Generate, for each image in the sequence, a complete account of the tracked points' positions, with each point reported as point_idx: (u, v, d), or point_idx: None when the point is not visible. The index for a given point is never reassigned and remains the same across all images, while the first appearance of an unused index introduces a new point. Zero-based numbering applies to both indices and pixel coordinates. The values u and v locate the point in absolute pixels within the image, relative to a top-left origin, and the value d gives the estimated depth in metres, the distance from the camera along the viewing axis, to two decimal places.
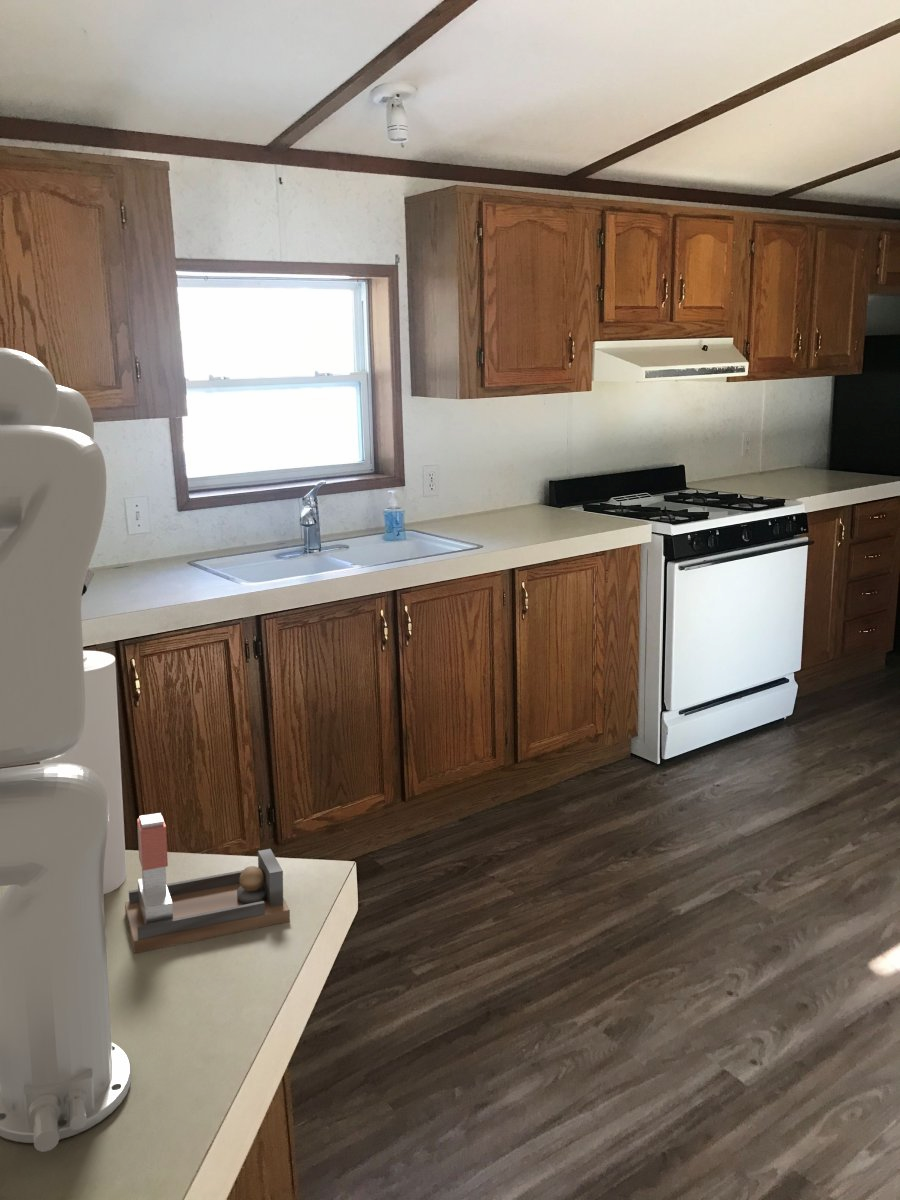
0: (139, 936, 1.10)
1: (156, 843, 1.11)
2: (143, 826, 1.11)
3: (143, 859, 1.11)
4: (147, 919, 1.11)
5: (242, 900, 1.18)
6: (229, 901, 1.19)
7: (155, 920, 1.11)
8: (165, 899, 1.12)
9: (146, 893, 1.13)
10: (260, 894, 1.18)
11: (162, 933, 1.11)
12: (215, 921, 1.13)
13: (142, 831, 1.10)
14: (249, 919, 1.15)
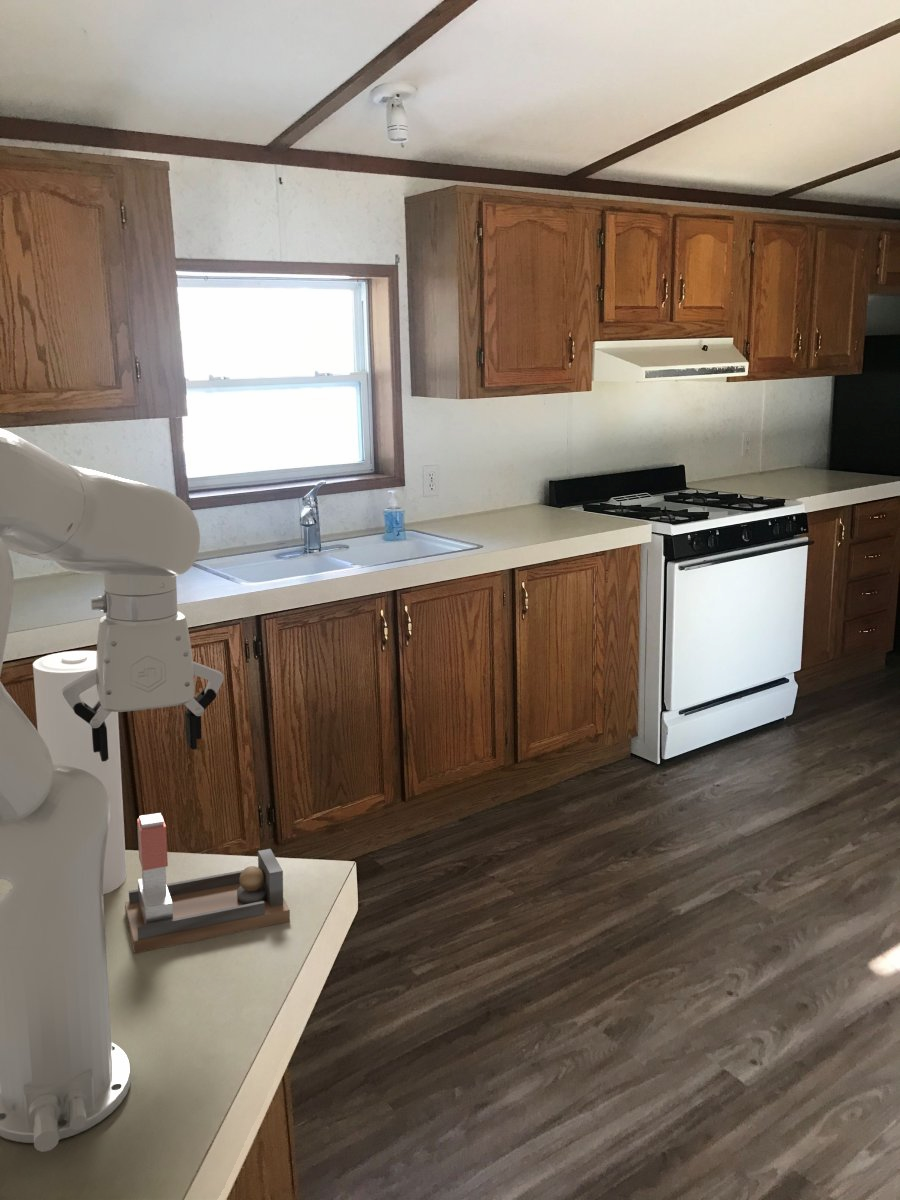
0: (139, 936, 1.10)
1: (156, 843, 1.11)
2: (143, 826, 1.11)
3: (143, 859, 1.11)
4: (147, 919, 1.11)
5: (242, 900, 1.18)
6: (229, 901, 1.19)
7: (155, 920, 1.11)
8: (165, 899, 1.12)
9: (146, 893, 1.13)
10: (260, 894, 1.18)
11: (162, 933, 1.11)
12: (215, 921, 1.13)
13: (142, 831, 1.10)
14: (249, 919, 1.15)
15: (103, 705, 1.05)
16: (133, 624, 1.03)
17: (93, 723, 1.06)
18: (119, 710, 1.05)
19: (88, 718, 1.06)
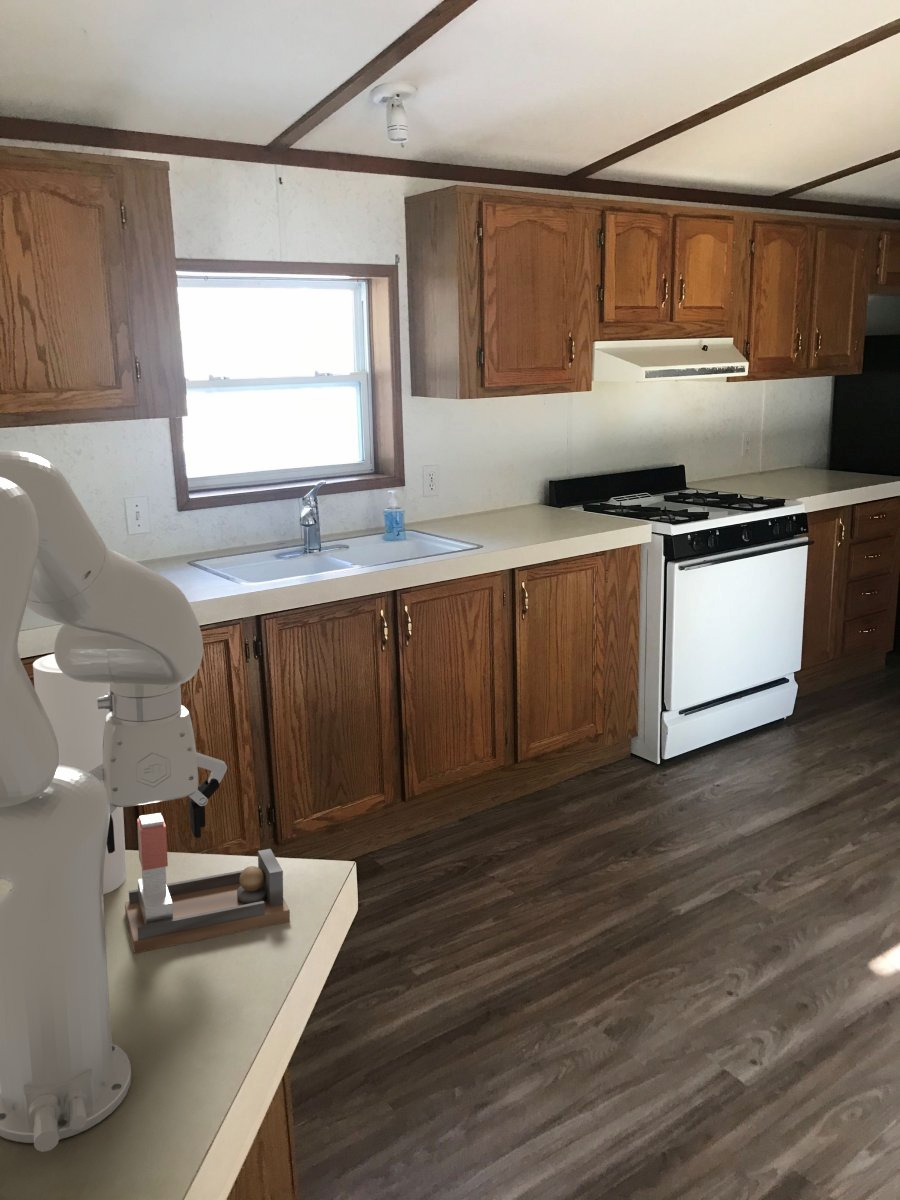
0: (139, 936, 1.10)
1: (156, 843, 1.11)
2: (143, 826, 1.11)
3: (143, 859, 1.11)
4: (147, 919, 1.11)
5: (242, 900, 1.18)
6: (229, 901, 1.19)
7: (155, 920, 1.11)
8: (165, 899, 1.12)
9: (146, 893, 1.13)
10: (260, 894, 1.18)
11: (162, 933, 1.11)
12: (215, 921, 1.13)
13: (142, 831, 1.10)
14: (249, 919, 1.15)
15: (109, 801, 1.07)
16: (138, 724, 1.06)
17: None
18: (125, 805, 1.08)
19: None
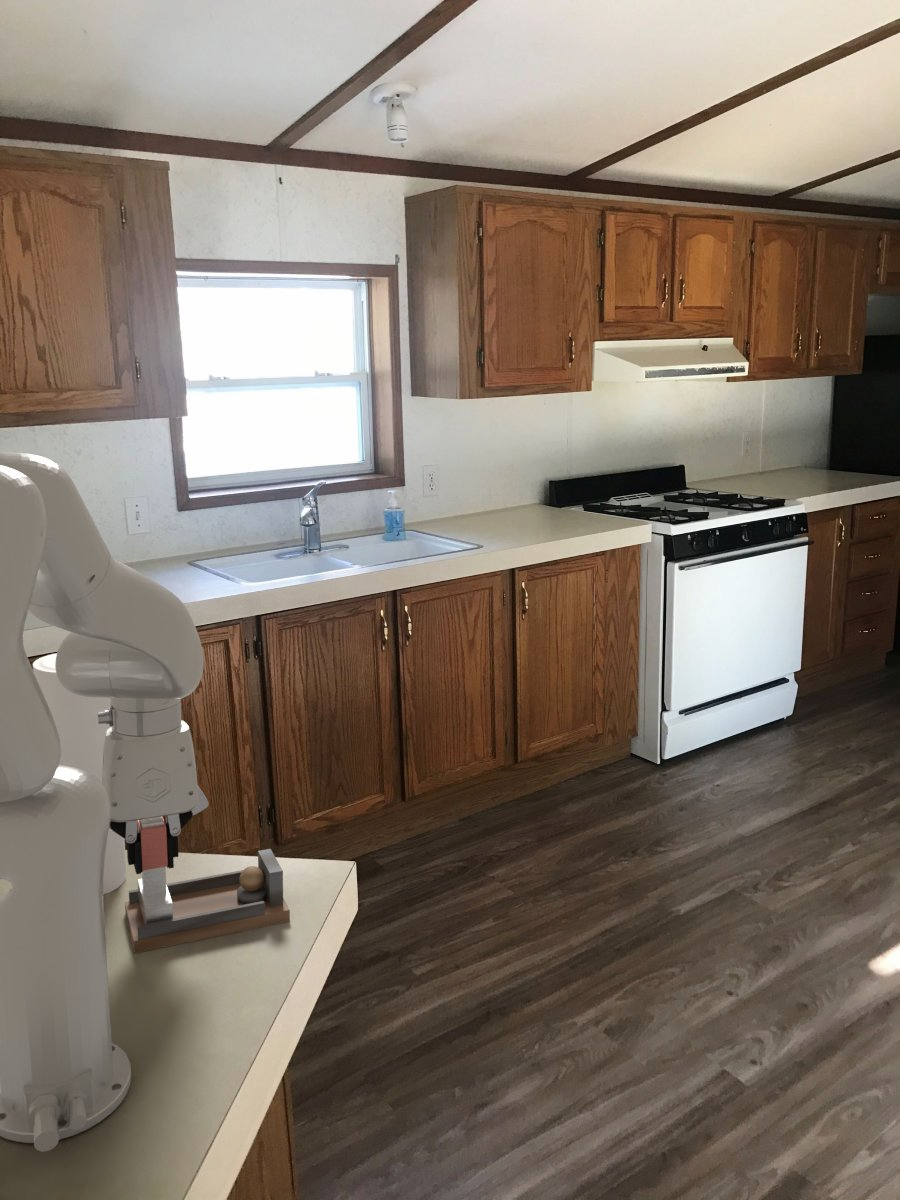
0: (139, 936, 1.10)
1: (156, 843, 1.11)
2: (143, 826, 1.11)
3: (143, 859, 1.11)
4: (147, 919, 1.11)
5: (242, 900, 1.18)
6: (229, 901, 1.19)
7: (155, 920, 1.11)
8: (165, 899, 1.12)
9: (146, 893, 1.13)
10: (260, 894, 1.18)
11: (162, 933, 1.11)
12: (215, 921, 1.13)
13: (142, 831, 1.10)
14: (249, 919, 1.15)
15: (109, 816, 1.07)
16: (138, 739, 1.06)
17: (129, 839, 1.10)
18: (125, 820, 1.08)
19: (124, 833, 1.10)
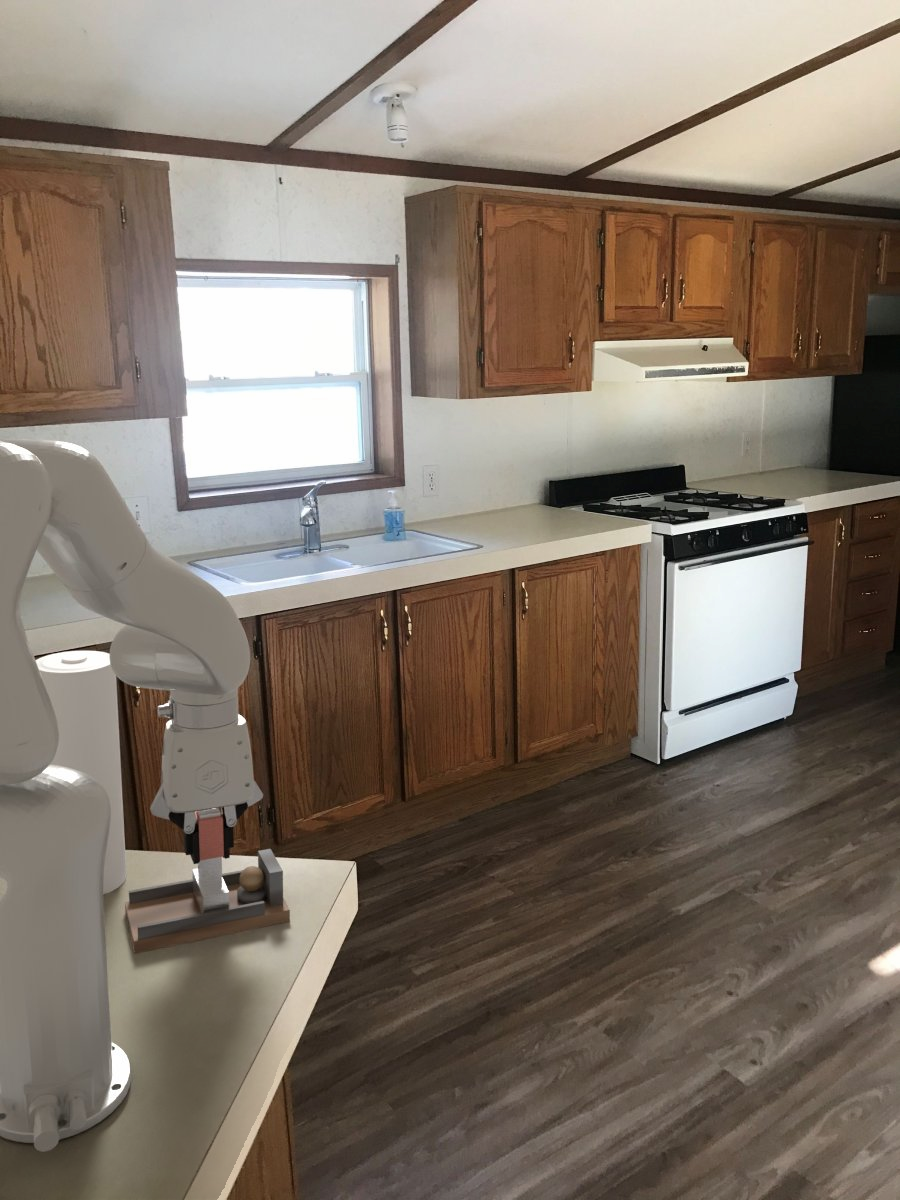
0: (139, 936, 1.10)
1: (213, 834, 1.14)
2: (201, 817, 1.13)
3: (200, 849, 1.14)
4: (204, 908, 1.13)
5: (242, 900, 1.18)
6: (229, 901, 1.19)
7: (212, 909, 1.14)
8: (221, 889, 1.15)
9: (203, 883, 1.15)
10: (260, 894, 1.18)
11: (162, 933, 1.11)
12: (215, 921, 1.13)
13: (200, 822, 1.13)
14: (249, 919, 1.15)
15: (169, 807, 1.10)
16: (199, 732, 1.09)
17: (187, 830, 1.13)
18: (184, 811, 1.11)
19: (182, 824, 1.13)
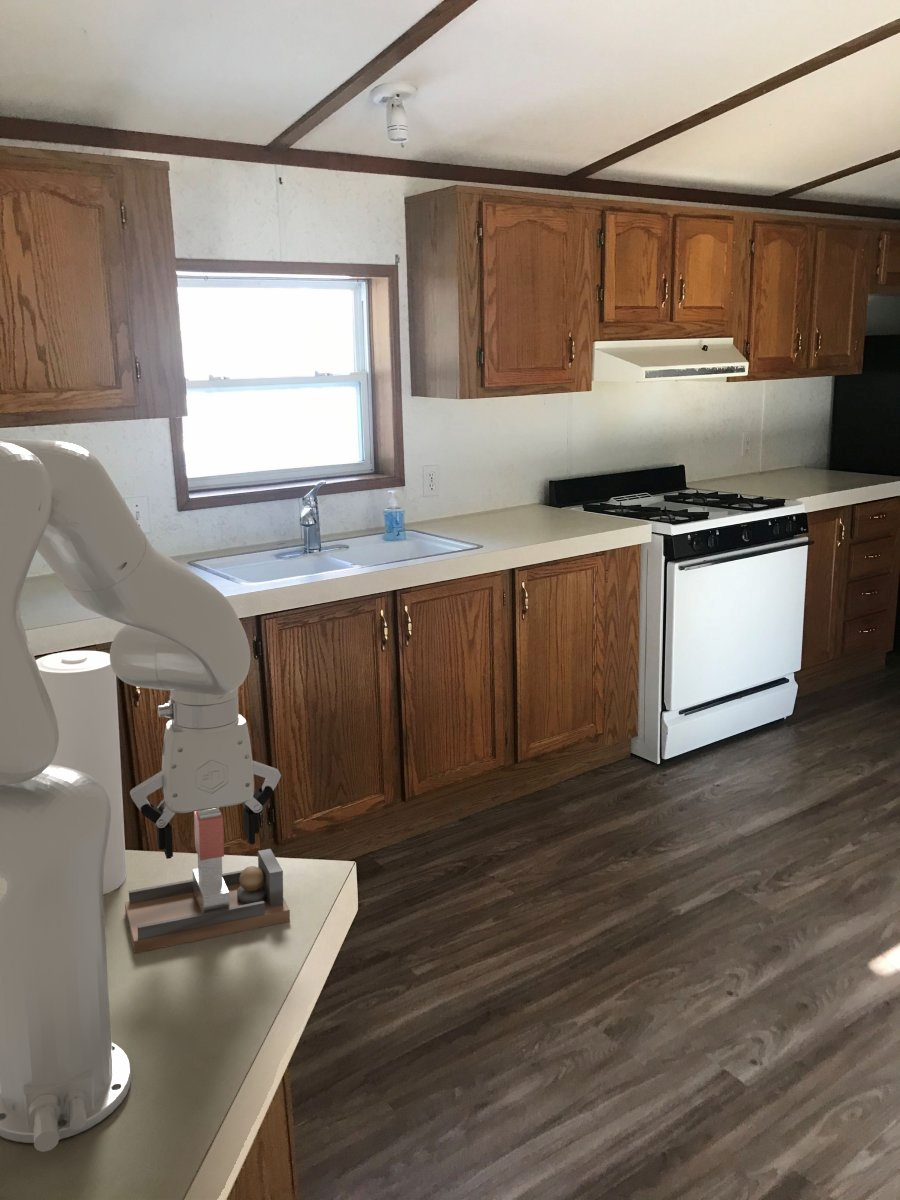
0: (139, 936, 1.10)
1: (213, 834, 1.14)
2: (201, 817, 1.13)
3: (201, 849, 1.14)
4: (205, 908, 1.14)
5: (242, 900, 1.18)
6: (229, 901, 1.19)
7: (212, 909, 1.14)
8: (221, 889, 1.15)
9: (203, 883, 1.15)
10: (260, 894, 1.18)
11: (162, 933, 1.11)
12: (215, 921, 1.13)
13: (200, 822, 1.13)
14: (249, 919, 1.15)
15: (169, 807, 1.10)
16: (199, 732, 1.09)
17: (159, 823, 1.11)
18: (184, 811, 1.11)
19: (154, 818, 1.11)
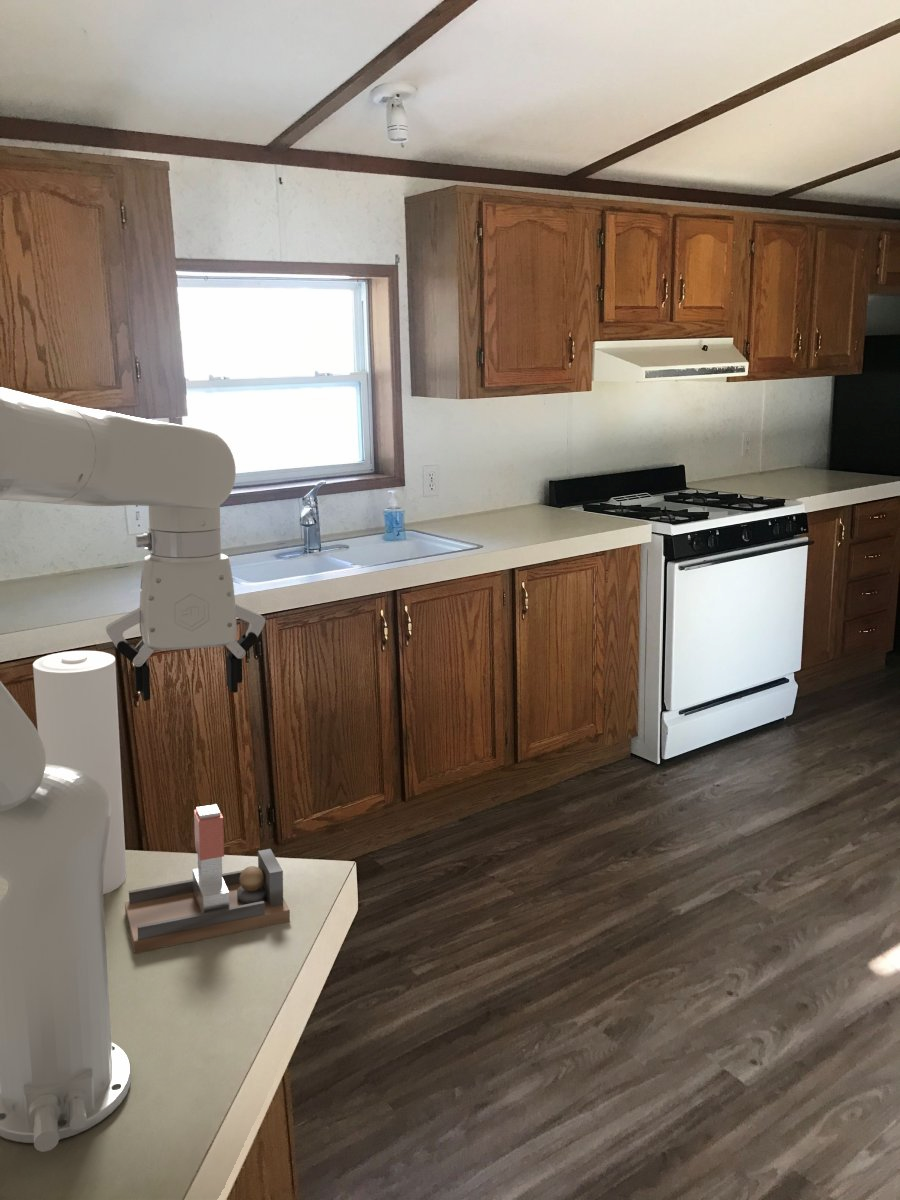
0: (139, 936, 1.10)
1: (213, 834, 1.14)
2: (201, 817, 1.13)
3: (201, 849, 1.14)
4: (205, 908, 1.14)
5: (242, 900, 1.18)
6: (229, 901, 1.19)
7: (212, 909, 1.14)
8: (221, 889, 1.15)
9: (203, 883, 1.15)
10: (260, 894, 1.18)
11: (162, 933, 1.11)
12: (215, 921, 1.13)
13: (200, 822, 1.13)
14: (249, 919, 1.15)
15: (146, 643, 1.05)
16: (178, 561, 1.03)
17: (136, 661, 1.06)
18: (162, 648, 1.05)
19: (131, 656, 1.06)
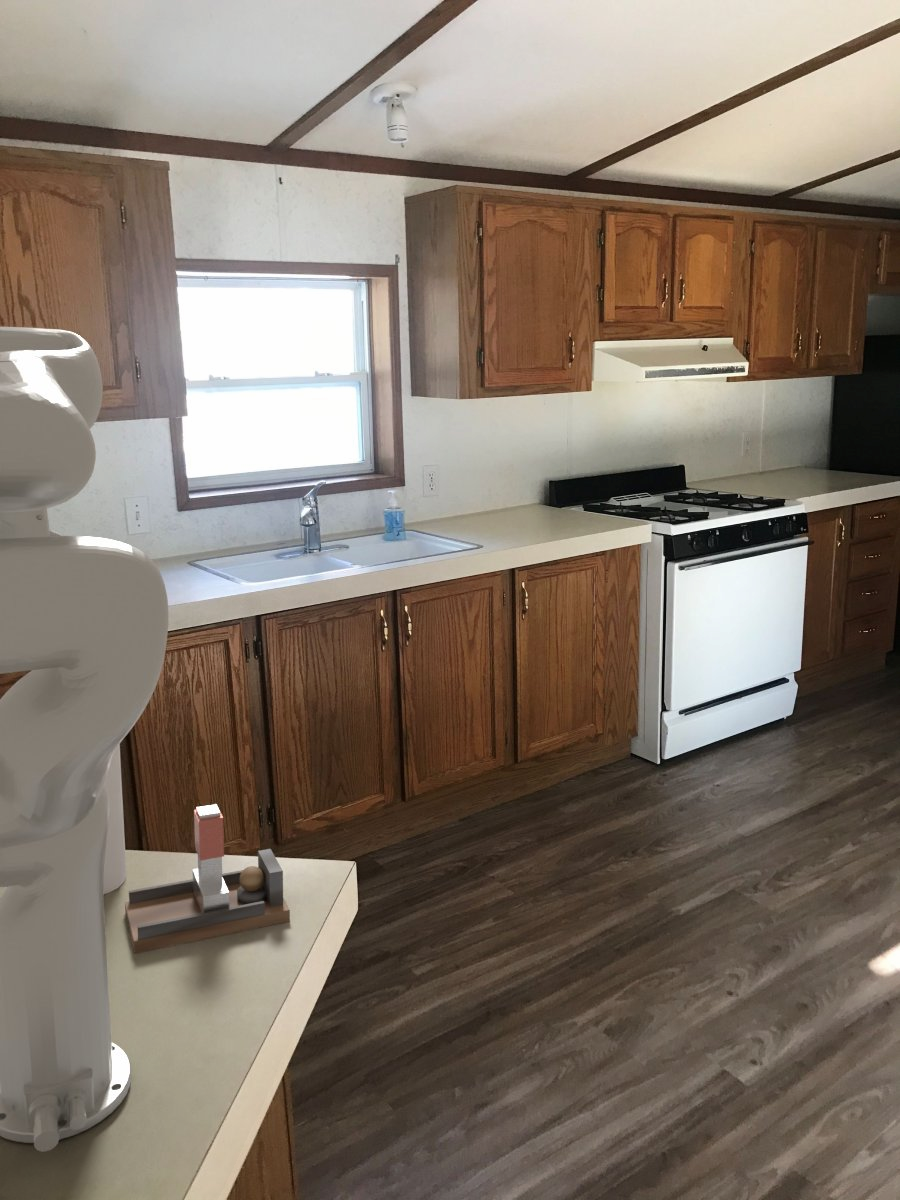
0: (139, 936, 1.10)
1: (213, 834, 1.14)
2: (201, 817, 1.13)
3: (201, 849, 1.14)
4: (205, 908, 1.14)
5: (242, 900, 1.18)
6: (229, 901, 1.19)
7: (212, 909, 1.14)
8: (221, 889, 1.15)
9: (203, 883, 1.15)
10: (260, 894, 1.18)
11: (162, 933, 1.11)
12: (215, 921, 1.13)
13: (200, 822, 1.13)
14: (249, 919, 1.15)
15: None
16: None
17: None
18: None
19: None
